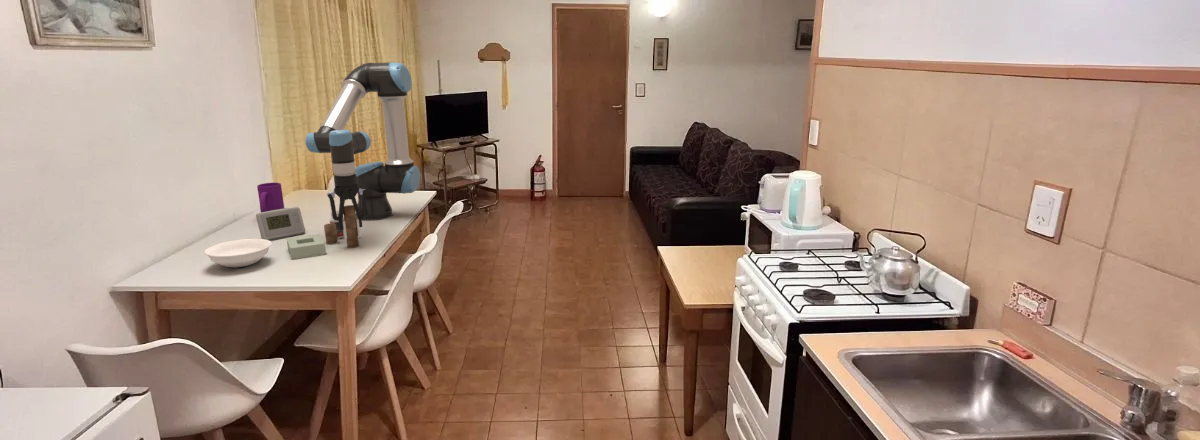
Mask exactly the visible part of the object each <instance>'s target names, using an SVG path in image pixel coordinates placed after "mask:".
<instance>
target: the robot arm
mask: <svg viewBox="0 0 1200 440" xmlns="http://www.w3.org/2000/svg"><path fill="white" fill-rule="evenodd" d="M411 90H412V77H411V72H410V71H409V69H408V68H407V66H406V65H405V64H403V63H401V62H393V61H391V62H366V63H363V64H360V65H358V66H356V67H354V69H352V71H350V72H349V73H348V74H347V75H346V76H345V78H344V79H343V81H342V83H341V90H340V91H339V94H338V95H337V96H336V98H335V100H334V101H333V104H332V105H331V108H330V109H329V111H328V112H327V114H326V116H325V117H324V119H323V121H322V124H320V126H319V128H318V130H317V131H312V132H308V133H307V135H306V136H305V146H306V148H307V151H309V152H311V153H315V154H330V157H331V164H332V165H331V166H332V172H333V173H332V174H334V175H333V180H334V181H333V182H334V188H333V191H331V192H328V193H326V196H327V197H328V199H329V205H330V210H331V213H332V216H333V219H334V220H337V221H339V228H340V229H341V230H343V235H344V238H343V239H345V240H347V233H346V224H345V221H344V220H343V217H344V214H343V213H344V206H345V203H346V201H348V200H351V202H352V203H351V204H352V205H353V206H354V207H355V215H356V224H357V232H358V238H359V237H360V238H361V230H360V228H363V221H375V220H382V219H383V220H384V219H387V218H389V217H392V216H393V214H394V213H393V208H392V206H391V205H390V201H389V200H388V196H387V194H411V193H412V194H413V193H414V192H416V191H417V189H418V187H419V184H420V181H421V170H420V168H419V167H418V166H417V165H415V164H414V163H415V162H414V160H413V159H412V158H411V157H410V152H409V151H410V150H409V141H408V140H409V139H408V128H407V118H406V109H405V99H406V98H407V97H408V93H409V92H410V91H411ZM371 92H372V93H377V98H378V99H379V100H380V101H381V103H382V112H383V114H382V115H383V121H384V122H383V123H384V131H385V140H386V141H385V143H386V149H387V150H386V153H387V160H386V161H384V162H383V161H374V162H368V163H363V164H359V165H356V163H355V155H356V154H360V153H364V152H365V151H367V150H369V149H370V147H371V144H372V141H371V137H370V135H368V133H366V132H364V131H354V132H352V131H351V130H350V129H345V127H346V125H347V123H348V122H349V120H350V118H351V116H352V114H353V112H354V111H355V109H356V108H357V105H358V103H359V102H360V100H361V99H363V98H364V97H365V96H366V95H367V94H368V93H371ZM335 195H336V196H337V197H339V208H338V211H339V215H338V217H337V214H336V211H337V209H336V204H335V203H336V202H335V198H336V196H335ZM356 196H357V199H358V200H357V199H356Z"/></svg>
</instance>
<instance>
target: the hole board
mask: <svg viewBox="0 0 1200 440" xmlns="http://www.w3.org/2000/svg"><path fill="white" fill-rule="evenodd" d="M286 243H287V249H288V252H289V255H290V258H291V260H298V259H303V258H310V257H315V256H316V257H317V256H323V255H327V251H326V243H325V241H324V239H323V238H322V236H321V234H320V233H316V234H311V235H304V236H294V237H286Z"/></svg>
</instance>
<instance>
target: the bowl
mask: <svg viewBox="0 0 1200 440" xmlns="http://www.w3.org/2000/svg"><path fill="white" fill-rule="evenodd" d="M271 246H272V241H271V240H265V239H262V238H244V239H235V240H230V241H229V240H228V241H225V242H220V243H216V244H215V245H212V246H210V247H208V248H206V249H205V250H204V251H203V252H204V255H206V256H207V257H208V258H209V259H210V261H211V262H213V263H214V264H218V265H220V266H224V267H228V268H242V267H247V266H251V265H254V264H255V263H257V262H259V261H260V260H261V259H263V257H264V256H265V255H268V253H269V248H270V247H271Z"/></svg>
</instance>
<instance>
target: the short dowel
mask: <svg viewBox="0 0 1200 440" xmlns="http://www.w3.org/2000/svg"><path fill="white" fill-rule="evenodd" d="M323 227H324V237H325V242H326V243H325V245H335V244H338V242H339V240H338V239H339V238H337V231H336V224H334V223H330V222H329V223H326V224H324V225H323Z"/></svg>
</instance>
